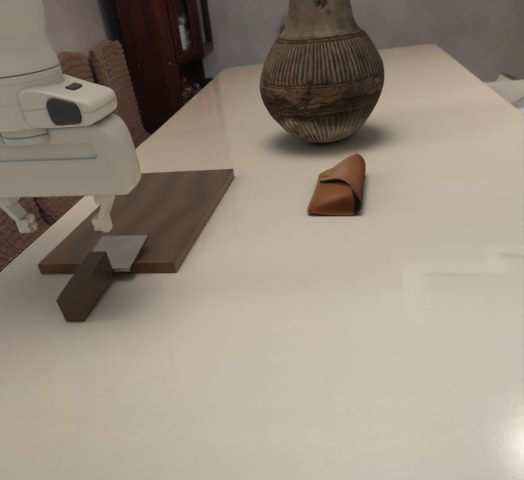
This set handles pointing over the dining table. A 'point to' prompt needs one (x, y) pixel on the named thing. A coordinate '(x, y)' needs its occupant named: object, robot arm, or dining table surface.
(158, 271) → the board
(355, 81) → the vase
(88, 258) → the spatula
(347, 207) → the sunglasses case
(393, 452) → the dining table surface
